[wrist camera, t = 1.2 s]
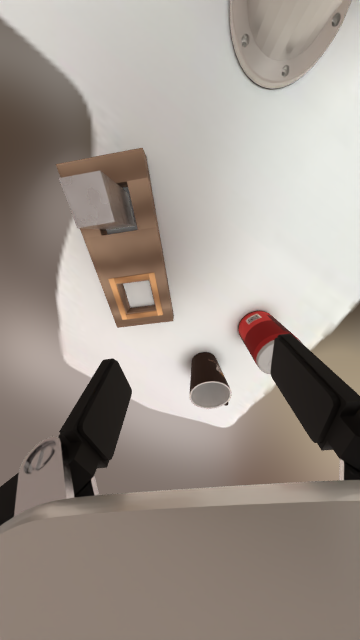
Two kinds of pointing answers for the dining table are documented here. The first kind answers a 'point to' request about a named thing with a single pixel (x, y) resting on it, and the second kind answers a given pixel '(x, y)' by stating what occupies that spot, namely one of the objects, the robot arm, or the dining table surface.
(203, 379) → the coffee mug
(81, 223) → the metal block
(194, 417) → the dining table surface
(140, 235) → the socket board
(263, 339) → the canned food
